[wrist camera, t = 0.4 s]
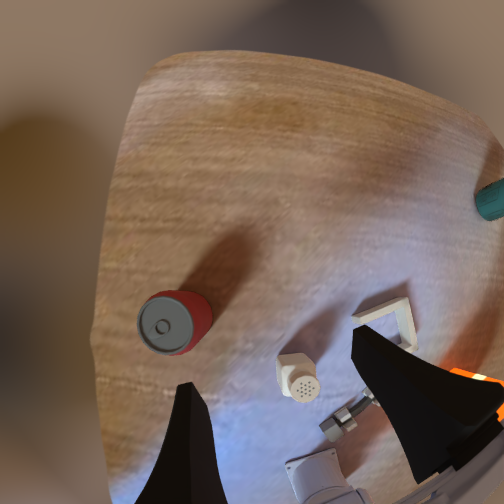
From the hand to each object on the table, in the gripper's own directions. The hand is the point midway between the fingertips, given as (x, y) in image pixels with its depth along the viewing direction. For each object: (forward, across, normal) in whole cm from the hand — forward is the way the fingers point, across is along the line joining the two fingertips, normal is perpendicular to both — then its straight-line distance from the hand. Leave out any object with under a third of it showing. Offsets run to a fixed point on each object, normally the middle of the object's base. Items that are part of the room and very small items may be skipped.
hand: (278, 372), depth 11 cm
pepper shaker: (+16, -4, +21) cm, 27 cm away
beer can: (+23, +7, +13) cm, 27 cm away
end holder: (+15, -18, +21) cm, 31 cm away
